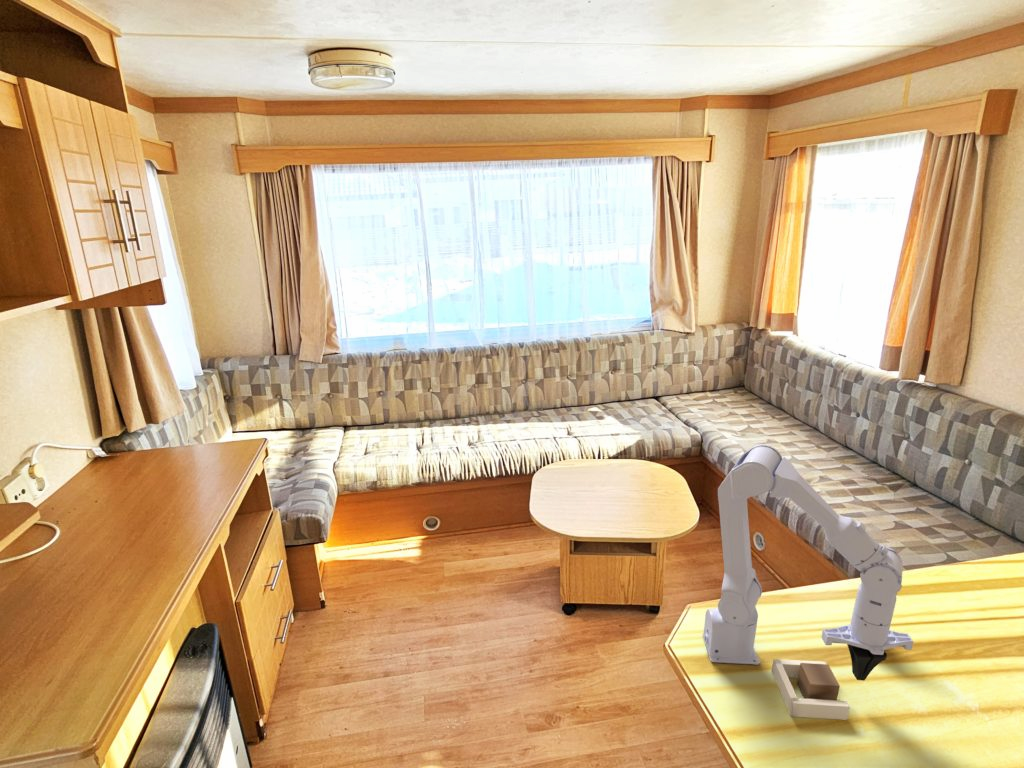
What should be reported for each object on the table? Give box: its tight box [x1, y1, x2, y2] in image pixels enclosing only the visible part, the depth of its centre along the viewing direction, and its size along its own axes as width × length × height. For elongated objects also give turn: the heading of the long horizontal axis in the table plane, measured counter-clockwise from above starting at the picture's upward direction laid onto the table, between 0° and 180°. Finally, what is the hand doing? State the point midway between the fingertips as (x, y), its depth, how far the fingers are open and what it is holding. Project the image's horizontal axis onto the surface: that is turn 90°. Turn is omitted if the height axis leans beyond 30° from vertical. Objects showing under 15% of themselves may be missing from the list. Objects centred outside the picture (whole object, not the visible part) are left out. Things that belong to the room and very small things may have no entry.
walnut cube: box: [796, 663, 840, 700], centre depth 108 cm, size 5×5×5 cm
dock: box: [771, 658, 851, 721], centre depth 109 cm, size 10×10×3 cm
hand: (858, 676), depth 107 cm, fingers closed
